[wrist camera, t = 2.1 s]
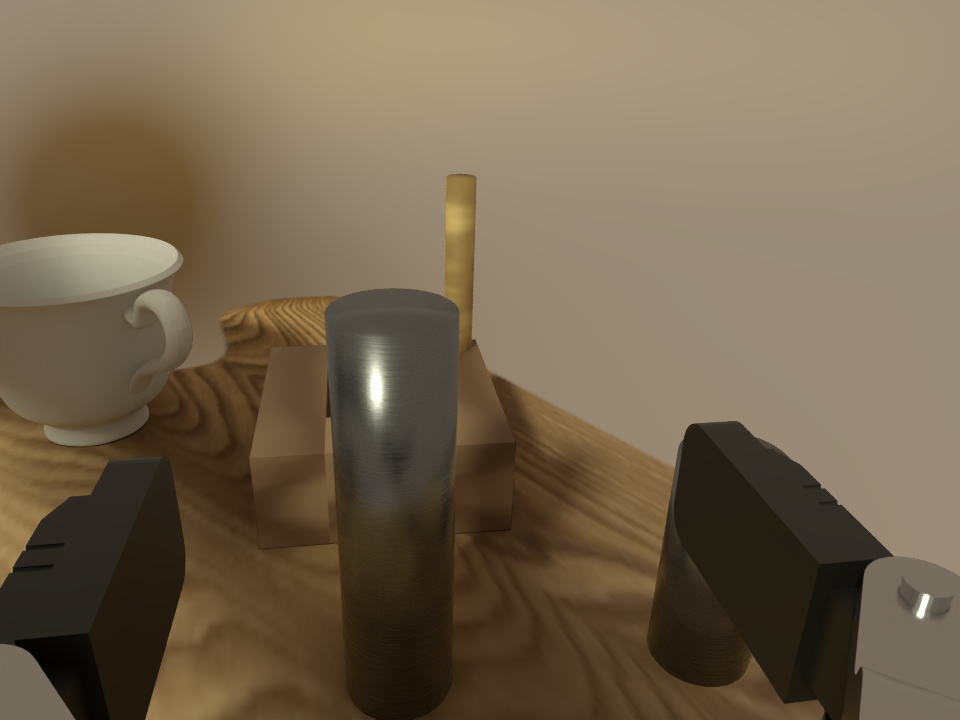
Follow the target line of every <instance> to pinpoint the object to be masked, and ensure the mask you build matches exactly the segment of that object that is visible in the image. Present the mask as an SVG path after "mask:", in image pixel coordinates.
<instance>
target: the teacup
mask: <svg viewBox="0 0 960 720" xmlns="http://www.w3.org/2000/svg"><path fill="white" fill-rule="evenodd" d="M182 263H183V256H182V255H181V253H180V252H179V251H178V250H177V249H176V248H174V247H173V246H171V245H170V244H168V243H166V242H164V241H161V240H158V239H154V238H149V237H144V236H136V235H126V234H72V235H60V236H50V237H42V238H35V239H29V240H23V241H17V242H13V243H8V244H3V245H0V397H1V398H2V400H3V401H4V402H5V404H6V405H7V406H8V407H9V408H10V409H11V410H12V411H13V412H15V413H16V414H18V415H19V416H21V417H23V418H24V419H27V420H29V421H32V422H36V423H39V424H43V425H44V427H43V431H44V434H45V436H46V437H47V438H48V439H49V440H50V441H52V442H54V443H56V444H60V445H65V446H78V447H81V446H94V445H100V444H105V443H109V442H112V441H115V440H118V439H121V438H123V437H125V436H128V435H130V434H132V433H133V432H135V431H136V430H138V429H139V428H141V427H142V426H143V425H144V424H145V423H146V422H147V420H148V417H149V409H148V407H147V404H148V403H149V402H151V401H152V400H153V399H154V398H155V397H156V396H157V395H158V394H159V393H160V392H161V391H162V389H163V388H164V386H165V385H166V382H167V380H168V377H169V374H170V371H171V370H173V369H175V368H177V367H178V366H180V365H181V364H182V363H183V362H184V361H185V360H186V359H187V357H188V355H189V352H190V350H191V347H192V340H193V335H192V327H191V323H190V320H189V316H188V313H187V311H186V309H185V307H184V306H183V304H182V303H181V301H180V300H179V299H178V298H177V297H176V296H175V295H174V294H172V283H173V279H174V274H175V272H176V271H177V270H178V269H179V267H180V266H181V265H182Z"/></svg>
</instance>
